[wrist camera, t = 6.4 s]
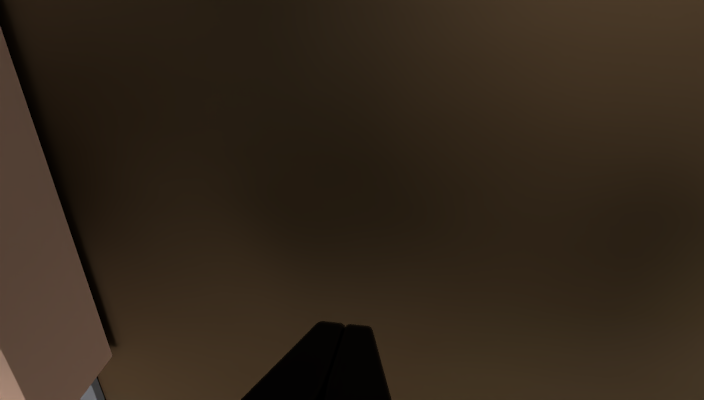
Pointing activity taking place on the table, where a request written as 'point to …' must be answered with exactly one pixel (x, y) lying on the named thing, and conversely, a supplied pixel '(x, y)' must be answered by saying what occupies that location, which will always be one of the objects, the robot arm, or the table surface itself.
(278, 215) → the table surface
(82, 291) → the beige rectangular block
